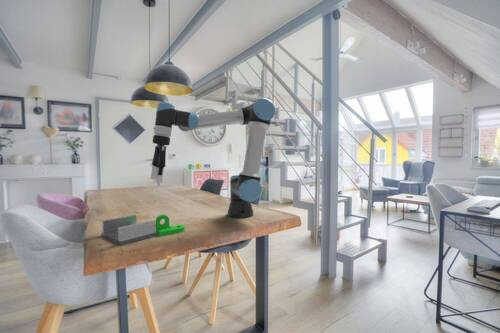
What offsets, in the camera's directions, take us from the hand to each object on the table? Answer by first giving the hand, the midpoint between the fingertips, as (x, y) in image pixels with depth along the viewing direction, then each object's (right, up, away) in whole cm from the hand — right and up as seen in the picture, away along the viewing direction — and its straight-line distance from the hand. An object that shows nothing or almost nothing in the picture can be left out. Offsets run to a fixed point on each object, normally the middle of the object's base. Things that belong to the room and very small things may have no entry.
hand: (155, 180), depth 111 cm
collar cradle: (-8, -23, -10) cm, 26 cm away
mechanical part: (+9, -23, -5) cm, 25 cm away
